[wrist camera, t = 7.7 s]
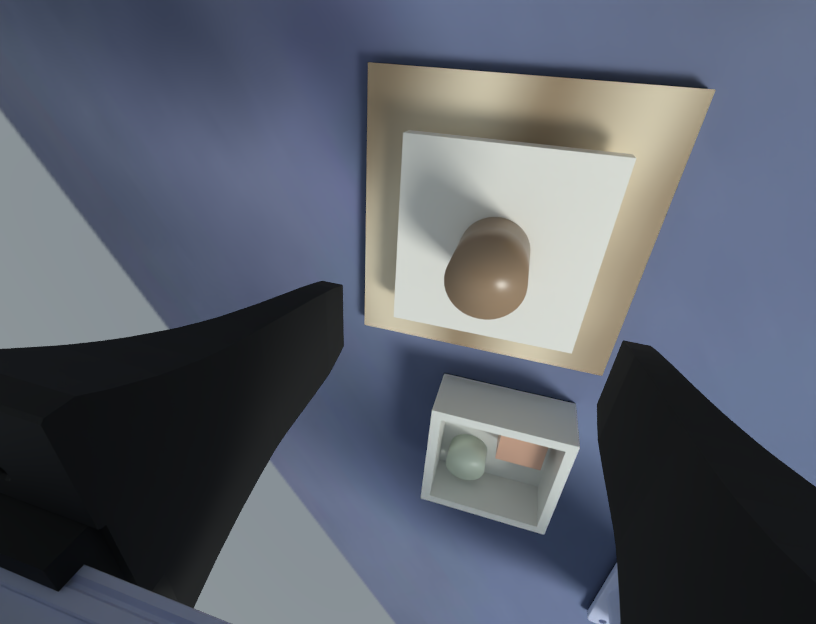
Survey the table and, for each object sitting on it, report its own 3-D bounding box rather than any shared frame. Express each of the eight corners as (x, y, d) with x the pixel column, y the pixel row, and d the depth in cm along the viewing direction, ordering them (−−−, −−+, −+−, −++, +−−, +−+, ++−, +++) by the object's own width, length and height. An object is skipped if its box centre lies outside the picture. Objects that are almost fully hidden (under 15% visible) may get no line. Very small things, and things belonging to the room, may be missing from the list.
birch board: (709, 89, 14) (715, 89, 13) (600, 368, 20) (602, 375, 20) (373, 62, 16) (368, 62, 16) (368, 318, 23) (364, 324, 22)
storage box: (575, 403, 22) (579, 447, 19) (544, 488, 25) (544, 534, 23) (444, 373, 23) (431, 410, 20) (432, 458, 27) (420, 498, 24)
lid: (628, 150, 15) (657, 177, 11) (569, 333, 19) (576, 399, 15) (414, 127, 17) (375, 144, 13) (403, 301, 21) (371, 353, 17)
